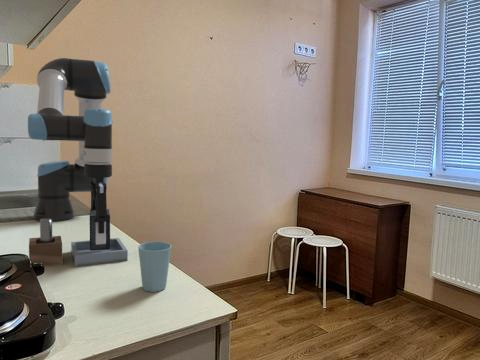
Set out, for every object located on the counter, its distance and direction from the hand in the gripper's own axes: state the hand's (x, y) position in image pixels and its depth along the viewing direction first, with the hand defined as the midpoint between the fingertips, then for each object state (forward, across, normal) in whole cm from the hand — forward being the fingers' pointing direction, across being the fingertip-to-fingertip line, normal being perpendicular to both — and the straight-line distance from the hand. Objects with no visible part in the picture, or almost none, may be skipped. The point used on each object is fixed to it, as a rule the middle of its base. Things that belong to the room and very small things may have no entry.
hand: (98, 239), depth 114 cm
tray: (+5, 0, 0) cm, 5 cm away
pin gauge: (+5, 0, -14) cm, 15 cm away
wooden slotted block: (+5, 0, -14) cm, 15 cm away
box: (+2, 0, 0) cm, 2 cm away
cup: (+5, +29, +9) cm, 31 cm away
